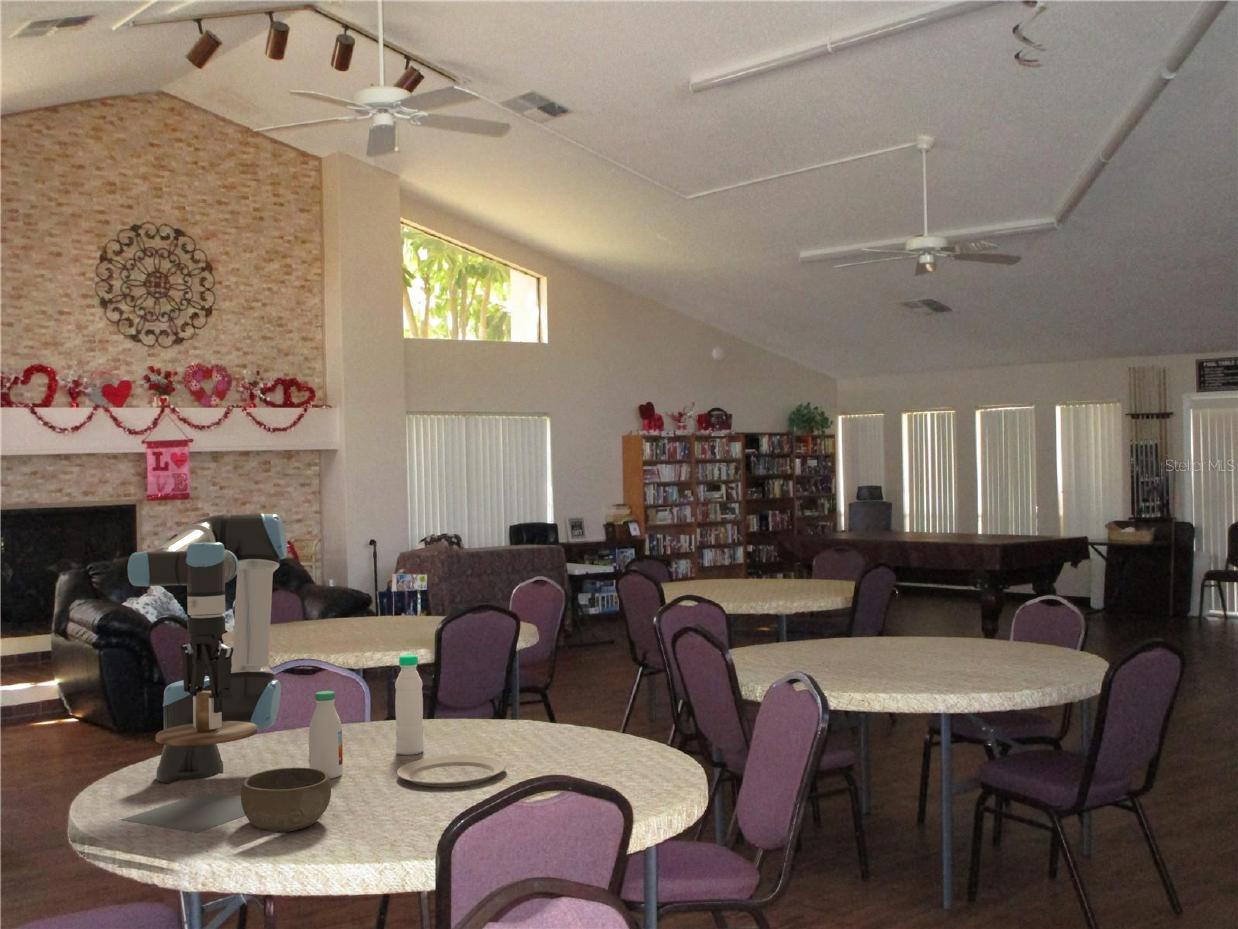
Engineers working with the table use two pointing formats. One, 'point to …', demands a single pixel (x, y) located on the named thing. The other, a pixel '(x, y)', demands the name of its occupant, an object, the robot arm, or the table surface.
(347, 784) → the table surface
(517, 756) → the table surface
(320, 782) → the bowl
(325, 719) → the milk bottle
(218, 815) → the mat
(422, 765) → the plate
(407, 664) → the white plastic bottle
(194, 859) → the table surface
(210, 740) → the lid
